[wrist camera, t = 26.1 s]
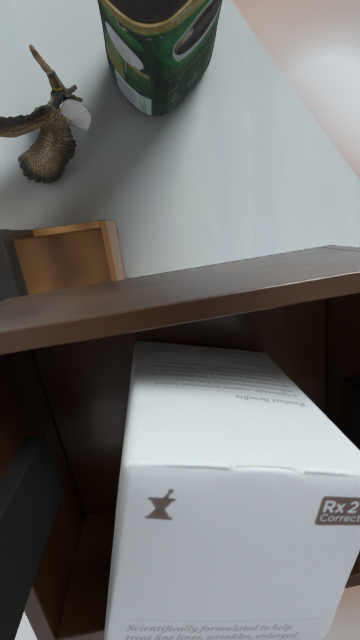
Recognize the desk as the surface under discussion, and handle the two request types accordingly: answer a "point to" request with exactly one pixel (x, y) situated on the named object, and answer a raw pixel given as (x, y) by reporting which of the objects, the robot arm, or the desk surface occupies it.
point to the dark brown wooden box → (114, 381)
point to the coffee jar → (158, 48)
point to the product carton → (228, 502)
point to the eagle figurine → (49, 129)
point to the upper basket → (58, 258)
